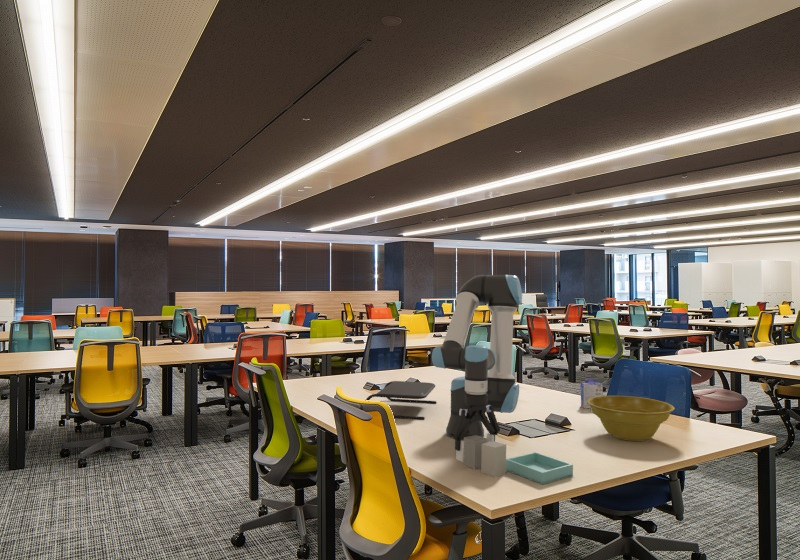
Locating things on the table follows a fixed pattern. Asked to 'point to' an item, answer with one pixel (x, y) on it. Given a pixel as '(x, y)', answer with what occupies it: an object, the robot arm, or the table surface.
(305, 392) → the table surface
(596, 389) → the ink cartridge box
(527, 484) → the table surface
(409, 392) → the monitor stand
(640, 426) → the planter bowl
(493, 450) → the stone
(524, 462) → the bin
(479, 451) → the stone
